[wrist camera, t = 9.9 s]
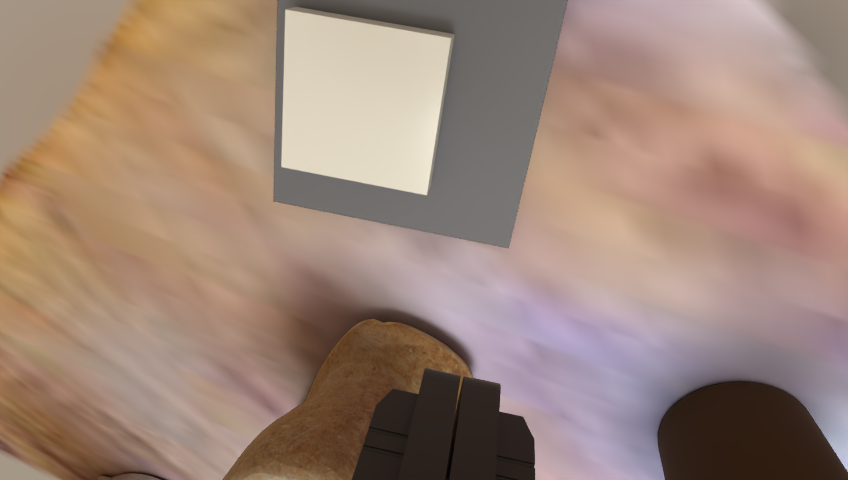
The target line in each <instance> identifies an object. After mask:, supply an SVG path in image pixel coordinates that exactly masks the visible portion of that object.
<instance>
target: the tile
mask: <svg viewBox="0 0 848 480" xmlns="http://www.w3.org/2000/svg"><path fill="white" fill-rule="evenodd" d="M454 35H455V34H451V33H445V32H439V31H434V30H428V29H422V28H416V27H410V26H405V25H399V24H393V23H387V22H381V21H376V20H370V19H364V18H358V17H352V16H347V15H341V14H335V13H329V12H323V11H318V10H312V9H306V8H300V7H293V8H289V9H285V41H284V80H283V119H282V158H281V167H284V168H289V169H294V170H299V171H304V172H309V173H315V174H320V175H325V176H330V177H335V178H340V179H345V180H350V181H356V182H361V183H366V184H371V185H376V186H381V187H386V188H391V189H397V190H402V191H407V192H412V193H417V194H422V195H427V194H428V191H429V189H430V186H431V181H432V175H433V169H434V162H435V156H436V149H437V143H438V137H439V130H440V124H441V118H442V111H443V105H444V98H445V92H446V86H447V79H448V73H449V67H450V60H451V54H452V48H453V41H454Z"/></svg>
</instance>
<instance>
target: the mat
mask: <svg viewBox="0 0 848 480" xmlns="http://www.w3.org/2000/svg"><path fill="white" fill-rule="evenodd" d="M567 1H568V0H277V47H276V98H275V149H274V200H273V201H274V202H279V203H284V204H289V205H294V206H299V207H304V208H309V209H314V210H319V211H324V212H329V213H334V214H339V215H344V216H349V217H354V218H359V219H364V220H369V221H374V222H379V223H384V224H389V225H394V226H399V227H404V228H409V229H414V230H419V231H424V232H429V233H434V234H439V235H444V236H449V237H454V238H459V239H464V240H469V241H474V242H479V243H484V244H489V245H494V246H499V247H504V248H509V245H510V241H511V236H512V232H513V228H514V224H515V220H516V215H517V211H518V207H519V203H520V199H521V194H522V190H523V186H524V182H525V178H526V173H527V169H528V165H529V161H530V157H531V153H532V148H533V144H534V140H535V136H536V132H537V127H538V123H539V119H540V115H541V111H542V106H543V102H544V98H545V94H546V90H547V85H548V81H549V77H550V73H551V69H552V64H553V60H554V56H555V52H556V48H557V43H558V39H559V35H560V31H561V27H562V22H563V18H564V14H565V10H566V6H567ZM293 7H300V8H306V9H312V10H318V11H323V12H329V13H335V14H341V15H347V16H352V17H358V18H364V19H370V20H376V21H381V22H387V23H393V24H399V25H405V26H410V27H416V28H422V29H428V30H434V31H439V32H445V33H451V34H455V35H454V41H453V48H452V54H451V60H450V67H449V73H448V79H447V86H446V92H445V98H444V105H443V111H442V118H441V124H440V130H439V137H438V143H437V149H436V156H435V162H434V169H433V175H432V181H431V186H430V189H429V191H428V194H427V195H422V194H417V193H412V192H407V191H402V190H397V189H391V188H386V187H381V186H376V185H371V184H366V183H361V182H356V181H350V180H345V179H340V178H335V177H330V176H325V175H320V174H315V173H309V172H304V171H299V170H294V169H289V168H284V167H281V158H282V119H283V80H284V41H285V9H289V8H293Z"/></svg>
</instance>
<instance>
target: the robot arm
mask: <svg viewBox="0 0 848 480" xmlns="http://www.w3.org/2000/svg"><path fill="white" fill-rule="evenodd" d="M460 378H461V375H456V374H451V373H447V372H442V371H437V370H433V369H428V368H425V369H424V373H423V377H422V381H421V385H420V390H419V394H416V393H411V392H407V391H402V390H397V389H392V390H391V391H390V392H389V393H388V394H387V395H386V396H385V397H384V398H383V399H382V400H381V401H380V402H379V403H378V404H377V405H376V407H375V410H374V413H373V416H372V419H371V422H370V425H369V429H368V431H367V434H366V437H365V440H364V444H363V448H362V450H361V453H360V456H359V459H358V462H357V465H356V468H355V471H354V474H353V477H352V480H535V468H534V465H535V450H534V438H533V436H532V434H531V432H530V430H529V428H528V426H527V424H526V422H525V420H524V418H523V417H521V416H517V415H512V414H508V413H503V412H499V407H500V388H501V387H500V384H498V383H494V382H489V381H485V380H480V379H475V378H471V377H466V376H464V377H463V381H462V385H461V389H460V394H459V398H458V391H459V385H460ZM457 398H458V403H457ZM456 405H457V407H456ZM455 411H456V412H455ZM97 480H160V479H158V478H155V477H152V476H148V475H144V474H135V473H129V474H121V475H118V476H115V477H105V476H100V477H99V478H98V479H97Z"/></svg>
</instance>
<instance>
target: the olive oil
mask: <svg viewBox="0 0 848 480" xmlns="http://www.w3.org/2000/svg"><path fill="white" fill-rule="evenodd" d="M658 447H659V453H660V458H661V462H662V467H663V471H664V476H665V480H848V472H847V470H846V469H845V467H844V466H843V464H842V463H841V461H840V459H839V458H838V456H837V455H836V453H835V452H834V450H833V449H832V447H831V446H830V444H829V442H828V441H827V439H826V438H825V436H824V435H823V433H822V432H821V430H820V428H819V427H818V425H817V424H816V422H815V421H814V419H813V418H812V416H811V415H810V413H809V412H808V411H807V409H806V408H805V407H804V406H803V405H802V404H801V403H800V402H799V401H798V400H797V399H796V398H794V397H793V396H791V395H790V394H788V393H786V392H784V391H782V390H780V389H778V388H775V387H772V386H768V385H764V384H759V383H752V382H729V383H722V384H716V385H712V386H709V387H705V388H703V389H700V390H698V391H695V392H693V393H691V394H689V395H688V396H686V397H684V398H683V399H681V400H680V401H679V402H678V403H676V404H675V405H674V406H673V407H672V408H671V409H670V410H669V411H668V413H667V414H666V415H665V417H664V419H663V421H662V423H661V425H660V428H659V432H658Z"/></svg>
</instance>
